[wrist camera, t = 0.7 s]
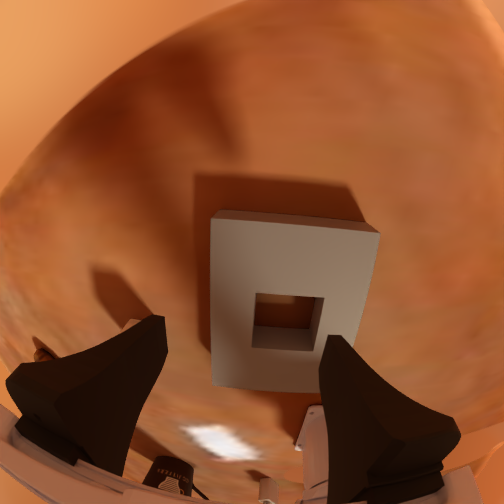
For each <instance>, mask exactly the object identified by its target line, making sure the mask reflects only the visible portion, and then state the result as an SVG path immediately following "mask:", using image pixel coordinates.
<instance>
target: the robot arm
mask: <svg viewBox="0 0 504 504" xmlns="http://www.w3.org/2000/svg"><path fill="white" fill-rule="evenodd" d="M167 354H168V346H167V337H166V327H165V317H164V316H159V315H153V314H152V315H150V316H148V317H147V318H145V319H143V320H142V321H140V322H138V323H137V324H135V325H133V326H132V327H130V328H129V329H127V330H125V331H124V332H122V333H120V334H118V335H116V336H115V337H113V338H111V339H109V340H107V341H105V342H103V343H101V344H99V345H97V346H95V347H92V348H90V349H87V350H85V351H82V352H79V353H76V354H73V355H69V356H66V357H62V358H58V359H53V360H48V361H41V362H30V363H21V364H20V365H19V366H18V367H17V368H16V369H15V370H14V372H13V373H12V374H11V375H10V376H9V377H8V378H7V379H6V387H7V390H8V392H9V394H10V396H11V398H12V399H13V401H14V402H15V404H16V406H17V407H18V409H19V410H20V411H21V413H22V416H21V418H20V419H19V418H18V417H17V416H16V415H14V414H13V413H12V412H11V411H9V410H8V409H7V408H5V407H4V406H3V405H1V404H0V467H1V468H2V469H3V470H4V471H6V472H7V473H8V474H9V475H11V476H12V477H13V478H14V479H15V480H17V481H18V482H19V483H21V484H22V485H23V486H25V487H26V488H27V489H29V490H30V491H31V492H33V493H34V494H36V495H37V496H38V497H40V498H41V499H43V500H44V501H46V502H48V503H49V504H230V503H223V502H216V501H210V500H204V499H198V498H193V497H189V496H184V495H180V494H175V493H171V492H167V491H164V490H160V489H156V488H153V487H150V486H146V485H143V484H140V483H137V482H134V481H131V480H128V479H125V478H123V477H122V475H123V470H124V465H125V461H126V457H127V453H128V449H129V445H130V442H131V439H132V435H133V432H134V429H135V426H136V423H137V420H138V417H139V415H140V412H141V410H142V407H143V405H144V403H145V401H146V399H147V397H148V395H149V394H150V392H151V390H152V388H153V386H154V384H155V382H156V380H157V378H158V376H159V374H160V372H161V370H162V368H163V365H164V362H165V360H166V357H167ZM318 373H319V389H320V394H321V400H322V405H312V406H310V407H309V408H308V410H307V413H306V416H305V419H304V422H303V425H302V428H301V431H300V434H299V436H298V439H297V442H296V445H295V450H297V451H303V474H304V488H305V490H304V491H303V499H299V500H297V501H296V502H295V504H483V501H482V499H481V495H480V492H479V489H478V487H477V484H476V481H475V478H474V476H473V473H472V471H471V468H470V466H469V465H467V466H465V467H462V468H460V469H457V470H455V471H452V472H449V473H447V474H446V475H444V476H442V475H441V472H440V471H441V470H443V467H444V466H443V464H442V460H443V459H444V458H445V457H446V456H447V455H448V454H449V453H450V452H451V451H452V450H453V449H454V448H455V447H456V445H457V444H458V442H459V440H460V438H461V433H460V431H459V429H458V427H457V425H456V423H455V421H454V419H453V418H452V417H450V416H447V415H444V414H441V413H439V412H436V411H434V410H431V409H429V408H427V407H425V406H423V405H421V404H419V403H417V402H415V401H414V400H412V399H410V398H409V397H407V396H406V395H404V394H402V393H401V392H399V391H398V390H397V389H395V388H394V387H393V386H391V385H390V384H389V383H388V382H386V381H385V380H384V379H383V378H382V377H380V376H379V375H378V374H377V373H376V372H375V371H374V370H373V369H372V368H371V367H370V366H369V365H368V364H367V363H366V362H365V361H364V360H363V359H362V358H361V357H360V356H359V355H358V353H357V352H356V351H355V350H354V349H353V348H352V347H351V345H350V344H349V343H348V342H347V341H346V340H345V339H344V338H343V336H342V335H329V334H328V336H327V340H326V343H325V347H324V351H323V354H322V358H321V361H320V365H319V368H318Z"/></svg>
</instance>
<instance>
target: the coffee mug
mask: <svg viewBox="0 0 504 504" xmlns="http://www.w3.org/2000/svg"><path fill="white" fill-rule="evenodd" d="M193 473H194V469H193V468H192V467H191V466H190V465H189V464H187V463H186V462H184V461H181V460H179V459H176V458H172V457H167V456H158V457H156V459H155V461H154V462H153V464H152V466H151V468H150V470H149V472H148V474H147V475H146V477H145V479H144V481H143V483H142V484H143V485H146V486H150V487H153V488H156V489H160V490H164V491H167V492H171V493H175V494H180V495H184V496H189V497H191V493H192V489H193V490H194V491H196V492H197V493H198V494H199V495H200V496H201V497H202V498H203V499H205V500H209V499H208V498H207V497H206V496H205V495H204V494H203V493H202V492H200V491H199V490H198V489H197V488H196V487H195V486H194V484H193Z"/></svg>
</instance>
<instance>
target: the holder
mask: <svg viewBox="0 0 504 504" xmlns="http://www.w3.org/2000/svg"><path fill="white" fill-rule="evenodd" d="M379 239H380V232H378V231H377V230H376V229H374V228H373V227H372V226H370V225H369V224H368V223H366V222H359V221H350V220H341V219H331V218H321V217H311V216H301V215H289V214H278V213H265V212H252V211H237V210H222V209H220V210H219V211H218V212H217V213H216V214H215V215H214V216H213V217H212V218H211V232H210V327H211V365H212V385H214V386H221V387H229V388H238V389H248V390H259V391H272V392H291V393H320V389H319V373H318V368H319V365H320V361H321V358H322V354H323V351H324V347H325V343H326V340H327V336H328V334H329V335H342V336H343V338H344V339H345V340H346V341H347V342H348V343H349V344H350V345H351V347H352V348H353V345H354V341H355V338H356V335H357V332H358V328H359V325H360V321H361V318H362V314H363V310H364V306H365V303H366V299H367V295H368V291H369V286H370V282H371V278H372V273H373V269H374V264H375V259H376V255H377V250H378V244H379ZM257 293H267V294H279V295H292V296H307V297H315V302H314V308H313V313H312V318H311V324H310V329H298V328H283V327H269V326H257V325H254V320H255V307H256V294H257Z"/></svg>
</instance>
